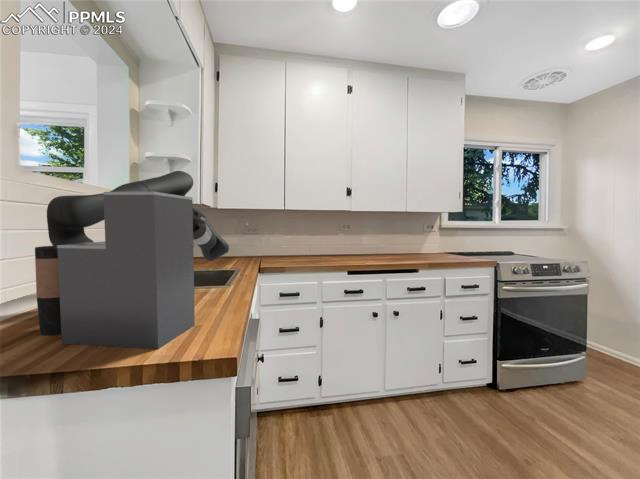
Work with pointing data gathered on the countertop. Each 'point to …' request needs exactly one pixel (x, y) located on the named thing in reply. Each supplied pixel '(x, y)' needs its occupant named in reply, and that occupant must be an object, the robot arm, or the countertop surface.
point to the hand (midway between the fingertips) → (170, 204)
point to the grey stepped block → (131, 274)
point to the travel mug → (48, 290)
